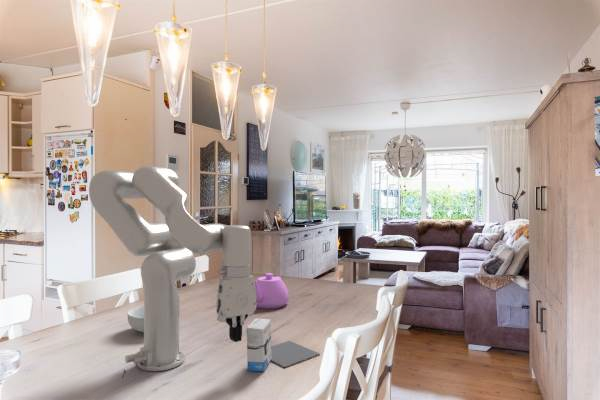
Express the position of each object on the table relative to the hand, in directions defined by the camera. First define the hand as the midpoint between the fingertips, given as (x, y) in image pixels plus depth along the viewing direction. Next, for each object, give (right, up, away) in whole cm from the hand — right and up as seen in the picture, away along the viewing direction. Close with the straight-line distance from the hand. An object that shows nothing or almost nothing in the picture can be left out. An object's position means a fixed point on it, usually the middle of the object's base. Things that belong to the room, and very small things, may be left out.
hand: (235, 339), depth 103 cm
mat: (+13, -9, +14) cm, 21 cm away
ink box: (+6, -9, +6) cm, 12 cm away
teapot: (+3, -9, +68) cm, 69 cm away
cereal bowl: (-35, -9, +33) cm, 49 cm away
